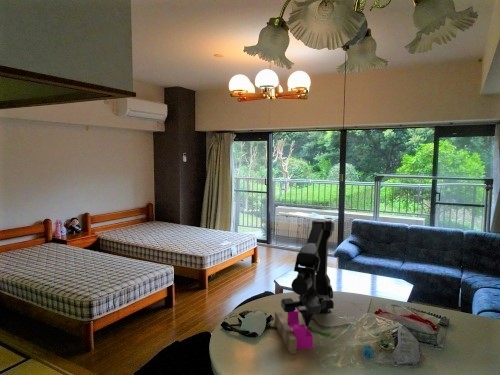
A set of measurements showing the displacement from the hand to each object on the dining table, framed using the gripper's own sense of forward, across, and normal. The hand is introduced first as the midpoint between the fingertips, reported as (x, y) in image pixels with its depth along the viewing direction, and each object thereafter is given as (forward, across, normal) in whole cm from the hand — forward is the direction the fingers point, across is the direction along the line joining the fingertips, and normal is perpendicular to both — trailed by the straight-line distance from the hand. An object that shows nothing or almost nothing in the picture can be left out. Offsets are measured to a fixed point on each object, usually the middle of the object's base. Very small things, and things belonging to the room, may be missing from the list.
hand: (306, 325), depth 125 cm
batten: (+4, -8, 0) cm, 9 cm away
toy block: (+4, -3, -1) cm, 5 cm away
